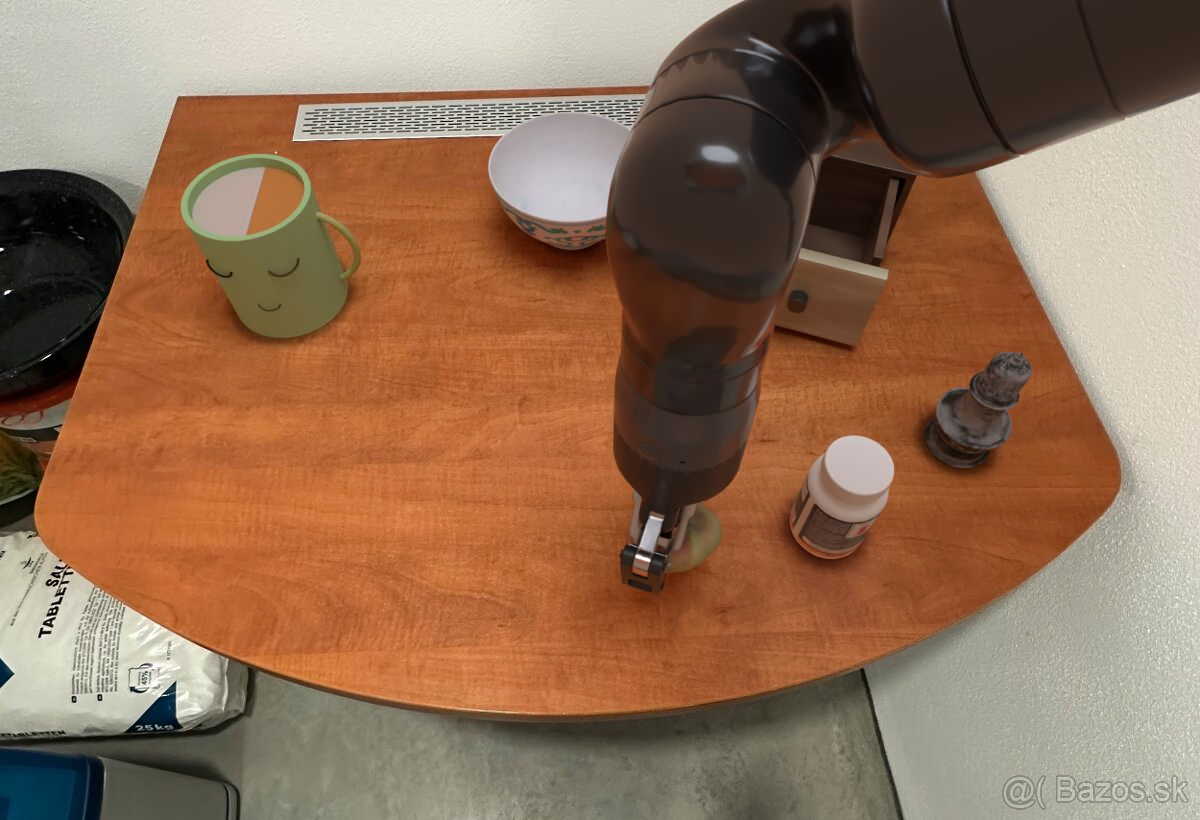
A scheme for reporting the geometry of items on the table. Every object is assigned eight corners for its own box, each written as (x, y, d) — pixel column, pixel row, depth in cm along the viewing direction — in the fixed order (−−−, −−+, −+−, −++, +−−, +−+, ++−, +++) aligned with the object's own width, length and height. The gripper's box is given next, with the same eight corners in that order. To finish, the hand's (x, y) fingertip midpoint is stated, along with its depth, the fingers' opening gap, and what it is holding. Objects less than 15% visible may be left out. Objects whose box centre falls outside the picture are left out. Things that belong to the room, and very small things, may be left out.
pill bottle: (876, 539, 61) (922, 478, 53) (817, 574, 60) (854, 517, 52) (830, 482, 64) (866, 415, 56) (772, 514, 62) (800, 450, 54)
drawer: (854, 357, 70) (884, 290, 63) (718, 320, 72) (733, 252, 65) (878, 243, 78) (908, 172, 70) (755, 213, 80) (772, 141, 72)
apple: (612, 502, 60) (614, 464, 55) (719, 516, 60) (729, 479, 55) (601, 577, 57) (601, 543, 52) (713, 593, 56) (724, 560, 51)
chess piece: (990, 480, 64) (1064, 397, 54) (916, 459, 65) (976, 373, 55) (995, 422, 67) (1066, 333, 57) (924, 402, 68) (982, 312, 58)
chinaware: (524, 163, 84) (519, 99, 78) (662, 190, 82) (668, 127, 76) (474, 263, 77) (463, 202, 70) (625, 296, 74) (629, 236, 68)
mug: (224, 342, 71) (164, 245, 61) (248, 256, 77) (197, 154, 67) (367, 340, 71) (331, 243, 61) (380, 254, 77) (350, 152, 67)
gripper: (717, 546, 39) (686, 648, 53) (780, 326, 46) (738, 468, 60) (571, 500, 40) (579, 612, 54) (655, 294, 47) (643, 439, 61)
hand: (663, 535), depth 57 cm, fingers closed on apple, 6 cm apart
